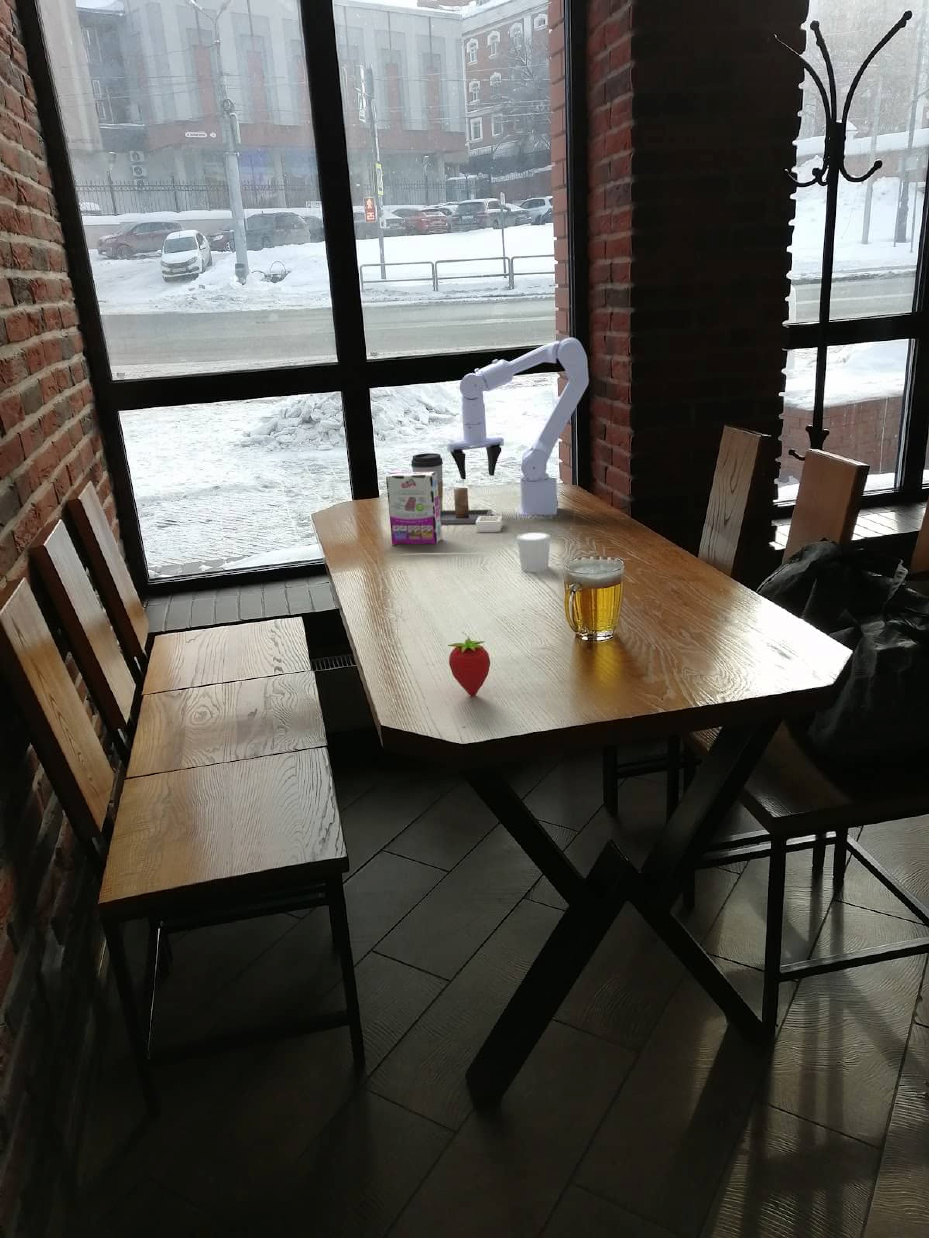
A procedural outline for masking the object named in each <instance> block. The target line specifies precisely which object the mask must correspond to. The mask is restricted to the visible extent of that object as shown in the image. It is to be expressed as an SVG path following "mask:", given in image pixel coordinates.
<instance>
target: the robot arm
mask: <svg viewBox="0 0 929 1238" xmlns="http://www.w3.org/2000/svg"><path fill="white" fill-rule="evenodd" d="M557 360H558V361H559V363H560V364H561V366H562V367H563V368H564V371H565V373H566V377H567V380H568V381H567V383H566V385H565V386H564V389H563V390H562V392H561V394H560V396H559V397H558V400H557V402H556V404H555V405H554V407H553V409H552V411H551V413H550V415H549V416H548V419H547V420H546V422H545V424H544V425H543V428H542V429H541V431H540V433H539V434H538V437H537V438H536V440H535V441H534V443H533V445H532V446H531V448H529V449H528V450H527V451H525V452H524V453H523V455H522V458H521V465H520V468H521V469H520V470H521V473H522V475H520V477H519V481H520V482H519V483H520V503H521V505H520V509H519V512H518V515H519V516H546V515H547V516H550V515H552V516H553V515H557V512H558V508H559V499H558V481H557V478H556V477H549V474H548V473H547V464H548V461H549V459H550V457H551V455H552V452H553V450H554V447H555V446H556V443H558V440H559V439H560V436H561V434H562V433H563V431H564V429H565V427H566V426H567V423H568V422H569V420H570V418H571V417H572V415H573V413H574V411H575V409H576V407H577V405H578V404H579V402H580V401H581V399H582V397H583V394H584V393H585V391H586V389H587V388H588V386H589V383H590V382H589V381H590V379H589V368H588V366H589V365H588V357H587V354H586V351H585V349H584V347H583V345H582V343H581V341H579V339H577V338H575V337H565V338H563V339H562V340H561V341H560V340H556V341H553V342H550V343H547V344H543V345H542V346H540V347H538V348H536V349H534V350H531V351H529V352H527V353H525V354H523V355H521V356H519V357H518V358H515V359H512V360H511V361H507V360H505V359H500V360H499V359H494V360H492V363H491V364H488V365H486V366H485V367H482V368H479V367H478V368H475V369H474V372H475V373H474V372H472V373H471V372H470V373H468V374H466V375H464V377H463V378H462V379H461V380H460V384H459V390H460V393H461V395H462V396H461V402H462V405H461V415H462V431H463V440H461V441H455V442H449V443H446V450H447V452H449V453H450V455H451V457H452V458H453V460H454V462H455V465H456V467H457V469H458V472H459V477H460V479H461V480H467V475H466V474H467V472H466V455H467V454H466V452H465V453H464V451H467V450H475V449H483V448H485V450H486V455H487V465H488V468H487V470H488V475H489V476H491V477H493V476H495V470H496V467H497V463H498V460H499V457H500V455H501V452H502V447H503V446H504V445H505V442H504V441H505V440H504V439H505V438H504V437H501V436H499V437H487V422H486V421H487V420H486V407H485V406H486V405H485V402H484V393H483V392H491V391H493V390H495V389H498V388H500V387H501V386H503V385H504V386H505V385H506V384H508V383H511V382H512V380H513V378H514V376H515V374H518V373H520V372H523V371H525V370H528V369H530V368H532V367H535V366H537V365H539V364H542V363H551V364H557Z"/></svg>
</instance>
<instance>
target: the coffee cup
mask: <svg viewBox="0 0 929 1238" xmlns="http://www.w3.org/2000/svg"><path fill="white" fill-rule="evenodd" d="M443 464H444V462H443V458H442V455H441V454H440V453H437V452H436V453H434V452H431V453H430V452H428V453H419V454H414V455H412V459H411V464H410V466H411V468H412V469H411V470H412V472H437V478H438V491H439V505H440V511H441V510H443V494H444V491H443V490H444V487H443V486H444V484H443V483H444V482H443V481H444V480H443Z"/></svg>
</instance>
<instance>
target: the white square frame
mask: <svg viewBox="0 0 929 1238" xmlns="http://www.w3.org/2000/svg"><path fill="white" fill-rule="evenodd" d="M503 525H504V524H503V515H492V516H478V518H477V520H476V524H475V533H495V532H496V533H497V532H498V533H499V532H502V529H503Z"/></svg>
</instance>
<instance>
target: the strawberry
mask: <svg viewBox="0 0 929 1238" xmlns="http://www.w3.org/2000/svg"><path fill="white" fill-rule="evenodd" d="M461 633H462V634H463V635H465V636H466V637H467V639H465V641H464V642H455V643H452V644H448V645H447V646H448V647H454V648H453V649H452V650H451V652H450V653H449V657H448V664H449V668H450V670H451V673H452V675H453V677H454V678H455V680H456V681H457V683H458V684H459V685H460V687H462V688H463V689H464V691H465V692H466V694H467V695H469V696H471V697H474V696H476V695H477V694H478V692H479V690H480V689H481V687H482V686H483V684H484V683H485V681H486V679H487V677H488V675H489V671H490V666H491V660H490V654H489V652H487V650H486V649H485V646H482V645H481V644H483V643H485V640H482V641H481V640H480V641H475V640H471V638H470V637H469V636H468V635H467V634H466V633H465V632H464V631H461Z"/></svg>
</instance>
